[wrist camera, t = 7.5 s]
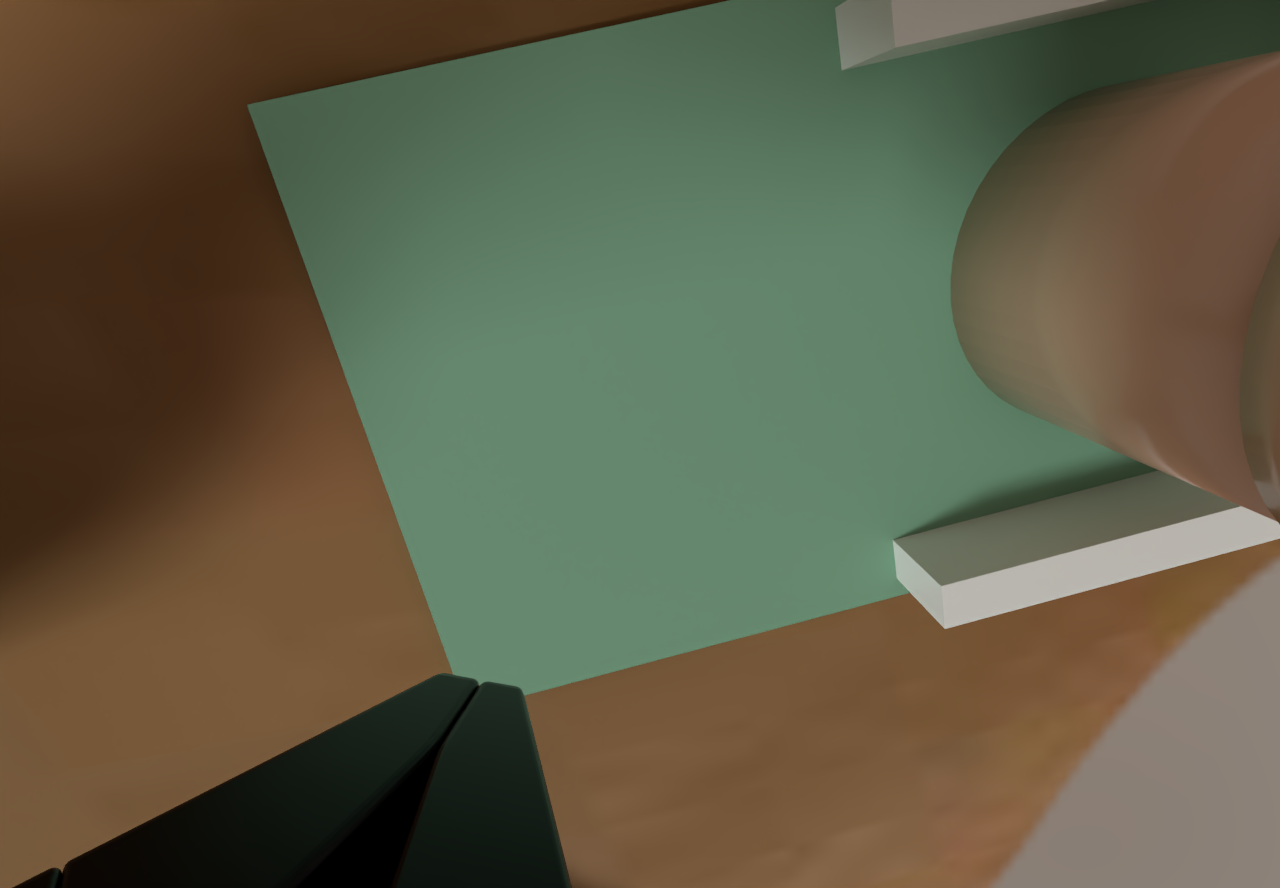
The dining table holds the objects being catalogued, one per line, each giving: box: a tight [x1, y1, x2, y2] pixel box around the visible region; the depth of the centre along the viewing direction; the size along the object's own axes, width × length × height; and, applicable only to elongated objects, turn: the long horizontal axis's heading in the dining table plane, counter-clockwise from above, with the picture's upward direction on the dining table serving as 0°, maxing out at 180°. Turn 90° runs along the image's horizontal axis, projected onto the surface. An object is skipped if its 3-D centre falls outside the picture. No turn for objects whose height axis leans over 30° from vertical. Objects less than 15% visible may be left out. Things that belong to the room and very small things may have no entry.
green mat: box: [247, 0, 1280, 695], centre depth 18 cm, size 25×15×1 cm, turn 102°
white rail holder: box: [835, 0, 1280, 629], centre depth 17 cm, size 12×14×2 cm
